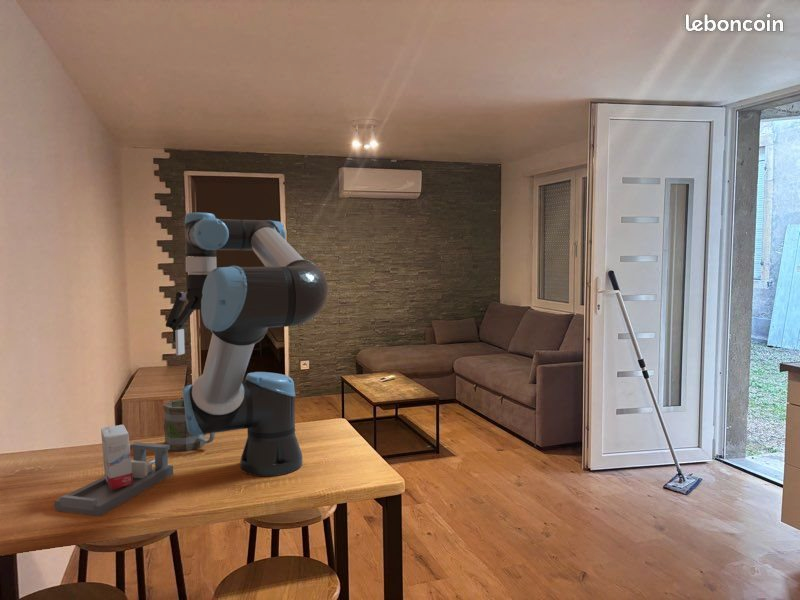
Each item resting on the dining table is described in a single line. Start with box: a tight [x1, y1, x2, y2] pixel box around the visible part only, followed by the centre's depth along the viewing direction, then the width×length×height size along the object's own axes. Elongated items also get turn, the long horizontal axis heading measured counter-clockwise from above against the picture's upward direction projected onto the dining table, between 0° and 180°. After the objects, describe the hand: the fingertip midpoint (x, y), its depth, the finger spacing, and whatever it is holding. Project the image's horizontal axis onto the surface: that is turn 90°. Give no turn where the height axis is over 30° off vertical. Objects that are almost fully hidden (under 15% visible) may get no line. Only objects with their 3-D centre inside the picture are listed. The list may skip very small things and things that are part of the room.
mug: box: [162, 398, 216, 453], centre depth 161 cm, size 16×11×12 cm
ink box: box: [100, 424, 133, 489], centre depth 130 cm, size 9×5×12 cm, turn 33°
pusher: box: [131, 458, 155, 479], centre depth 141 cm, size 7×12×4 cm, turn 166°
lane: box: [53, 441, 174, 517], centre depth 130 cm, size 11×24×7 cm, turn 166°
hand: (203, 355), depth 152 cm, fingers open, 13 cm apart
